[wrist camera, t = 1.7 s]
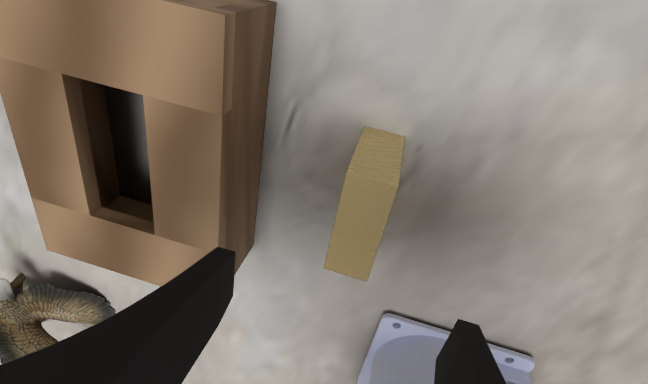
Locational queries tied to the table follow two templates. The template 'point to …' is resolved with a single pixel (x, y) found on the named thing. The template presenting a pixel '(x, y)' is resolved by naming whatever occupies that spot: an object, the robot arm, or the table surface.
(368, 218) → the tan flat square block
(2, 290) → the eagle figurine
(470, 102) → the table surface
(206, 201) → the box
